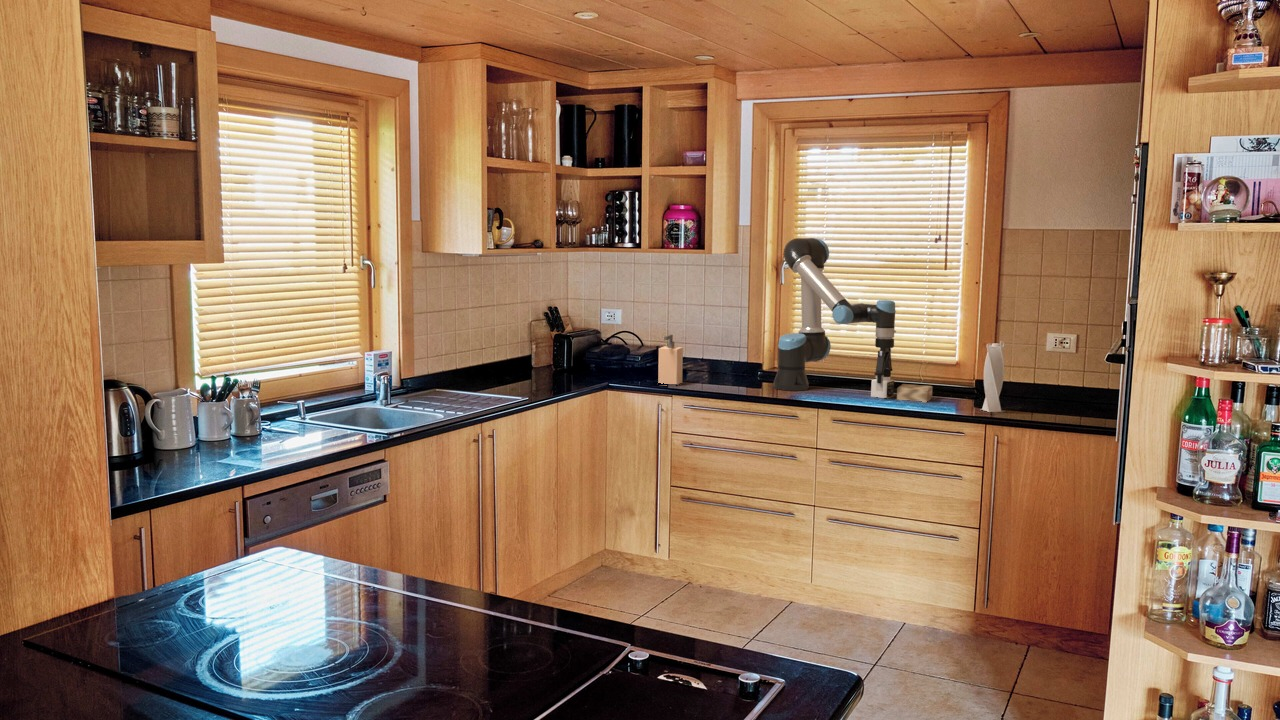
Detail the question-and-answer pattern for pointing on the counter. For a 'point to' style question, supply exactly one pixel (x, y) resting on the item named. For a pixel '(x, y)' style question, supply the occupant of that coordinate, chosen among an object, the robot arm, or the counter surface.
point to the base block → (914, 392)
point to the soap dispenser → (670, 363)
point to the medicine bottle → (884, 386)
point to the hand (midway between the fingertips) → (883, 388)
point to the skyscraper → (993, 377)
